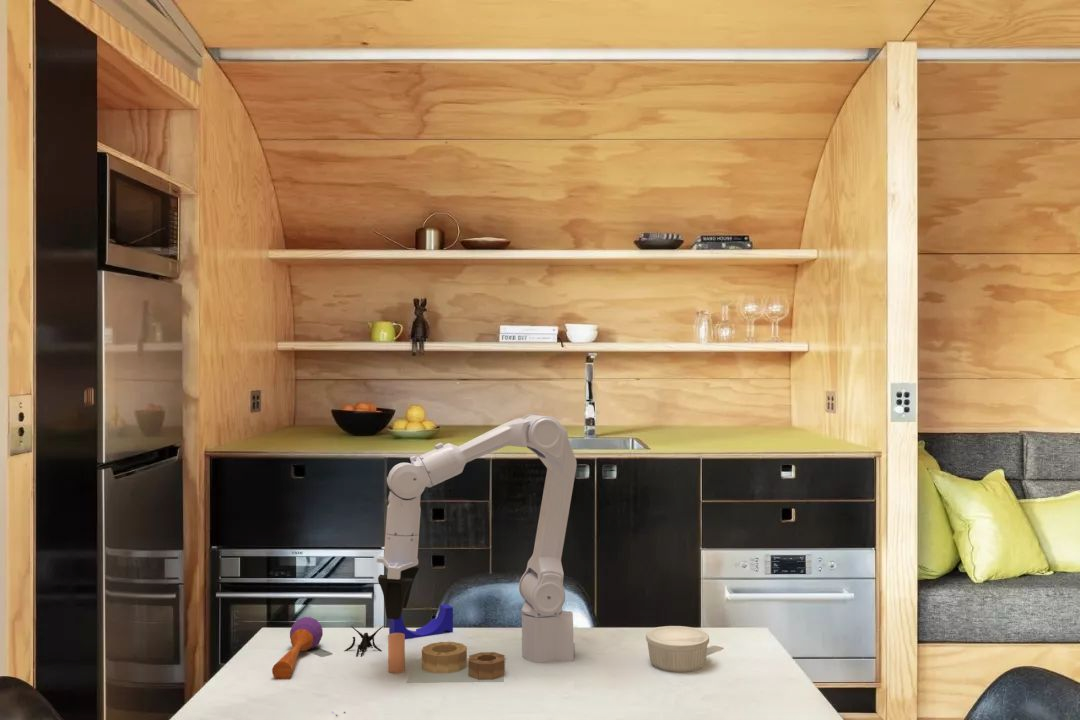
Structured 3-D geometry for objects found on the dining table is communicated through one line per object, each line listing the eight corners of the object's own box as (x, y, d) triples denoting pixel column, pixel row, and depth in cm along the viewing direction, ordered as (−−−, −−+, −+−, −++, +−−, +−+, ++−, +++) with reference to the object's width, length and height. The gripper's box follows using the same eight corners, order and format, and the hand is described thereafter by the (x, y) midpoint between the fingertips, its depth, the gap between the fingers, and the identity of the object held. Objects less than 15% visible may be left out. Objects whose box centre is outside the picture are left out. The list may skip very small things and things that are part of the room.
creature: (380, 669, 157) (389, 645, 165) (379, 641, 156) (388, 619, 164) (337, 669, 158) (348, 645, 165) (335, 641, 156) (346, 619, 164)
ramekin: (681, 680, 148) (681, 648, 148) (632, 663, 156) (632, 634, 156) (722, 665, 155) (722, 635, 155) (673, 650, 163) (673, 622, 164)
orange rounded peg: (405, 673, 151) (405, 632, 152) (403, 679, 149) (403, 637, 149) (389, 673, 151) (389, 632, 151) (387, 679, 149) (386, 637, 149)
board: (505, 663, 156) (505, 657, 156) (503, 687, 144) (503, 681, 144) (415, 664, 156) (415, 658, 156) (406, 688, 144) (406, 682, 144)
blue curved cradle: (444, 632, 176) (444, 602, 176) (453, 638, 172) (452, 607, 172) (386, 641, 171) (386, 610, 171) (394, 647, 167) (394, 615, 167)
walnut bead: (504, 667, 151) (504, 652, 151) (503, 679, 145) (503, 663, 145) (470, 667, 151) (470, 652, 151) (467, 679, 145) (467, 663, 145)
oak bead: (467, 658, 156) (467, 641, 156) (464, 673, 148) (464, 655, 148) (425, 659, 156) (425, 642, 156) (419, 673, 148) (419, 655, 148)
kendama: (260, 657, 149) (291, 615, 169) (268, 691, 149) (298, 645, 169) (295, 650, 149) (322, 609, 169) (302, 684, 149) (328, 639, 169)
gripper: (386, 525, 158) (380, 601, 158) (371, 538, 144) (365, 622, 143) (425, 527, 158) (419, 603, 158) (414, 541, 144) (408, 625, 143)
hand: (396, 612), depth 151 cm, fingers open, 7 cm apart
